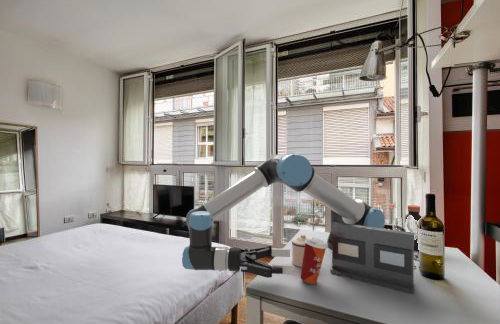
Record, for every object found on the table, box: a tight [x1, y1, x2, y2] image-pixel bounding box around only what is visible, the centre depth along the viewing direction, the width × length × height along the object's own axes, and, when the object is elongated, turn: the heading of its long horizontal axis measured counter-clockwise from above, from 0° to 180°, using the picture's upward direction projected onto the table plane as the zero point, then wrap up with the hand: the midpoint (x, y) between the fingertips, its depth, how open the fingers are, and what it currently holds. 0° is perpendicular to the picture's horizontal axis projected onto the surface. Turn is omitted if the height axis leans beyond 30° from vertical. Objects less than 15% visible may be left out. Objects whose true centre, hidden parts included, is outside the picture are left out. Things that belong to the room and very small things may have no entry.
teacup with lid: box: [291, 234, 308, 268], centre depth 104 cm, size 12×9×12 cm
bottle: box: [404, 204, 422, 252], centre depth 119 cm, size 7×7×20 cm
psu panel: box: [329, 222, 415, 294], centre depth 90 cm, size 8×26×18 cm, turn 56°
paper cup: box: [300, 236, 328, 285], centre depth 88 cm, size 8×8×14 cm
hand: (291, 260), depth 85 cm, fingers open, 13 cm apart
